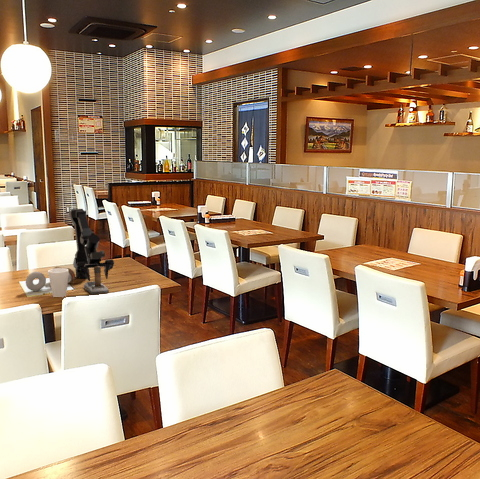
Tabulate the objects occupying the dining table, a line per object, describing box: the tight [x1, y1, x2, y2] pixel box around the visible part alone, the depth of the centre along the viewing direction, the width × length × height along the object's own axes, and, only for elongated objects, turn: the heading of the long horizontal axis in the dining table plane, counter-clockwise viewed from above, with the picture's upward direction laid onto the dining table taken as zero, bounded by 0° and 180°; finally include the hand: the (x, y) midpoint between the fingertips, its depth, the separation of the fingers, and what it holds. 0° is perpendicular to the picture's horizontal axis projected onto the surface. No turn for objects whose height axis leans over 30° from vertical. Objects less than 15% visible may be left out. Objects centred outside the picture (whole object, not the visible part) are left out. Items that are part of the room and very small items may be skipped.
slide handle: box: [92, 266, 104, 290], centre depth 245 cm, size 5×5×12 cm
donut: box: [25, 271, 47, 292], centre depth 246 cm, size 10×4×10 cm, turn 133°
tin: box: [52, 266, 76, 285], centre depth 262 cm, size 15×3×8 cm, turn 71°
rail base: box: [83, 280, 110, 295], centre depth 249 cm, size 14×10×3 cm
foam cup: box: [47, 267, 69, 298], centre depth 237 cm, size 10×9×13 cm
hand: (98, 279), depth 244 cm, fingers open, 8 cm apart
